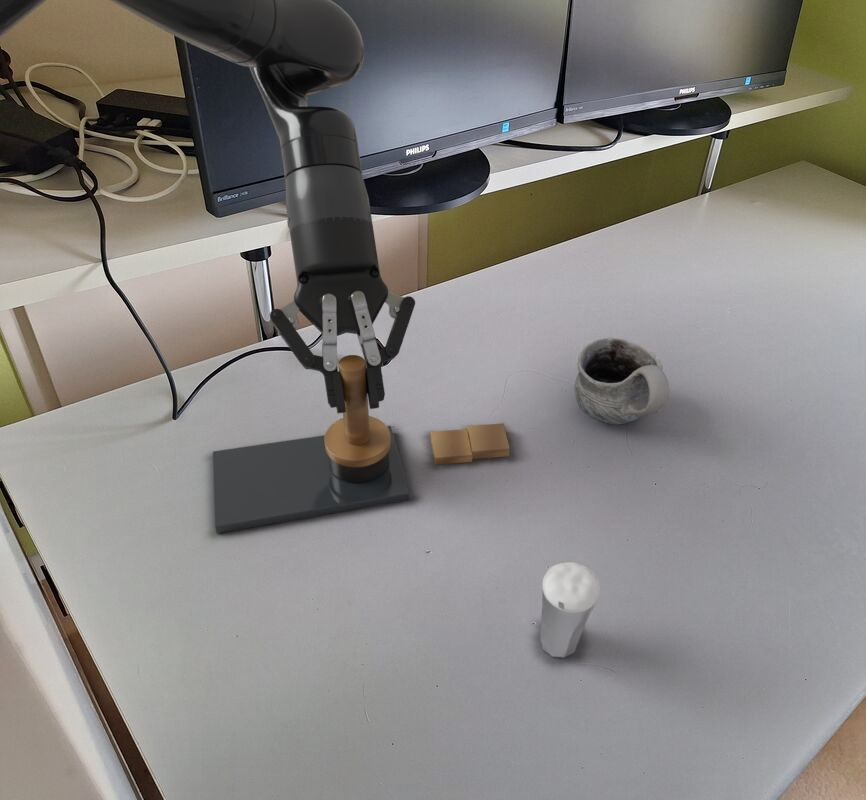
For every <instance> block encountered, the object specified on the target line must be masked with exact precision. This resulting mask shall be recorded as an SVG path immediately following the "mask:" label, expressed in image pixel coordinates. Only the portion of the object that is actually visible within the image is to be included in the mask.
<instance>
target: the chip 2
mask: <svg viewBox="0 0 866 800" xmlns="http://www.w3.org/2000/svg"><path fill="white" fill-rule="evenodd" d="M466 429H467V430H468V435H469V440H470V445H471V449H472V454H473V457H472V460H480V459H492V458H504V457H505V458H507V457H510V443H509V440H508V436H507V432H506V428H505V424H504V423H487V424H471V425H467V428H466Z"/></svg>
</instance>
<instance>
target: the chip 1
mask: <svg viewBox="0 0 866 800" xmlns="http://www.w3.org/2000/svg"><path fill="white" fill-rule="evenodd" d="M430 443H431V445H430V446H431V450H432V457H433V464H434V465H435V466H436V465H450V464H462V463H472V462H473V459H472V457H473V454H472V449H471V445H470V440H469V435H468V430H467V428H463V429H451V430H438V431H430Z"/></svg>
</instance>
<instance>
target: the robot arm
mask: <svg viewBox="0 0 866 800" xmlns="http://www.w3.org/2000/svg"><path fill="white" fill-rule="evenodd" d="M109 1H110V2H112V3H114V4H115V5H117V6H119V7H121V8H123V9H125V10H127V11H128V12H130V13H132V14H133V15H136V16H137V17H139V18H141V19H143V20H145V21H146V22H148V23H150V24H152V25H153V26H156V27H157V28H159V29H161V30H162V31H165V32H167V33H169V34H170V35H172V36H174V37H176V38H178V39H180V40H182V41H184V42H186V43H187V44H190V45H192V46H194V47H196V48H198V49H201V50H203V51H206V52H207V53H210V54H213V55H215V56H217V57H219V58H222V59H224V60H226V61H228V62H230V63H233V64H235V65H238V66H242V67H246V68H249V71H250V74H251V76H252V78H253V81H254V83H255V85H256V87H257V89H258V91H259V93H260V95H261V98H262V100H263V102H264V105H265V108H266V110H267V112H268V115H269V117H270V119H271V122H272V125H273V127H274V129H275V132H276V135H277V138H278V142H279V146H280V148H279V149H280V156H281V162H282V168H283V175H284V184H285V211H286V216H287V223H286V224H287V227H288V229H289V230H288V231H289V236H290V243H291V250H292V257H293V258H292V259H293V264H294V270H295V271H294V272H295V277H296V290H295V292H294V296H293V300H292V301H291V302H289V303H287V304H286V305H285V306H283V307H281V308H273V309H272V310H270V312H269V319H270V323H271V324H272V326H273V327H274V328H275V330H276V331H277V333H278V334H279V336H280V337H281V338H282V340H283V341H284V342H285V343H286V345H287V347H288V348H289V349H290V350H291V352H292V353H293V355H294V356H295V358H296V359H297V361H298V362H299V363H300V365H301V366H302V368H304V369H305V370H312V371H316V372H319V373H321V374H322V376H323V378H324V385H325V392H326V400H327V404H328V405H329V407H330V409H333V408H334V409H335V408H336V413H337V414H338V415H339V414H343V413H345V412H346V407H345V401H344V394H343V387H342V380H341V373H340V371H339V368H338V336H341V335H344V334H353V335H356V336H357V340H358V343H359V346H360V348H361V352H362V355H363V359H364V360H365V362H366V377H367V393H368V407H369V410H375V409H379V408H380V402H383V401H384V400H385V396H386V392H385V386H384V379H383V372H382V365H383V364H384V363H387V362H389V361H390V360H391V361H392V360H394V359H395V358H396V357H397V356H398V355H399V353H400V351H401V348H402V344H403V341H404V338H405V335H406V333H407V330H408V327H409V325H410V320H411V318H412V315H413V312H414V309H415V306H416V300H415V298H414V297H413V296H411V295H407V296H405V297H404V296H401V295H399V294H396V293H394V292H391V291H389V288H388V286H387V285H386V283H385V282H384V280H383V279H382V276H381V272H380V265H379V258H378V252H377V251H378V250H377V244H376V238H375V232H374V225H373V217H372V211H371V206H370V205H371V204H370V199H369V195H368V191H367V188H366V184H365V180H364V175H363V171H362V170H363V169H362V164H361V157H360V149H359V145H358V144H359V141H358V137H357V136H358V135H357V130H356V127H355V124H354V122H353V120H352V118H351V116H350V115H349V114H348V113H346V112H345V111H343V110H341V109H339V108H336V107H332V106H323V105H322V106H321V105H312V106H311V105H309V102H308V96H311V95H314V94H317V93H320V92H322V91H323V92H324V91H326V90H329V89H332V88H336V87H338V86H342V85H344V84H347V83H348V82H350V81H352V80H353V79H354V78H355V77H356V76H358V74H359V72H360V71H361V69H362V67H363V64H364V60H365V45H364V40H363V37H362V34H361V31H360V29H359V27H358V26H357V24H356V22H355V21H354V19H353V18H352V17H351V16H350V15H349V14H348V13H347V11H345V10H344V9H343V8H342V6H340V5H338V4H337V3H335V2H334V1H332V0H109ZM45 2H47V0H0V39H1V38H2V37H3V36H4V35H6V34H7V33H9V31H11V30H12V29H14V28H15V26H17V25H18V24H20V22H22V21H23V20H24V19H26V18H27V17H28V16H29V15H30V14H32V13H33V12H34V11H35V10H37V9H38V8H39V7H40V6H41V5H42V4H44V3H45ZM384 304H387V307H388V316H389V317H391V318H392V319H393V320H394V321H393V323H392V326H391V329H390V332H389V335H388V338H387V339H386V343H385V346H384V347H383V346H382V347H381V348H380V349H379V347H378V342H377V338H376V333H375V329H374V325H373V324H374V323H375V321H376V319H377V318H378V316H379V313H380V312H381V310H382V308H383V306H384ZM299 312H300V313H301V314H302V315H303V316H304V317H305V318H306V319H307V320H308V321H309V322H310V323H311V324H312V325H313V327H315V329H317V330H318V332H320V333H321V348H322V349H321V350H322V353H321V354H322V355H316V354H314V353H313V352H312V351H311V349H310V348H309V346H308V344H306V342H305V341H304V339H303V338H302V336H301V335H300V334H299V332H298V331H297V329H298V327H299V323H300V322H299V318H298V316H297V315H298V313H299Z"/></svg>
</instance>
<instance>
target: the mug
mask: <svg viewBox="0 0 866 800" xmlns="http://www.w3.org/2000/svg"><path fill="white" fill-rule="evenodd" d="M576 365H577V369H578V372H577V375H576V378H575V383H574V395H575V400H576V402H577V405H578V407H579V408H580V410H581V411H582V412H583V413H585V414H586V415H587V416H589V417H590V418H592V419H594V420H597V421H598V422H599V421H600V422H602V423H604V424H609V425H625V424H628V423H630V422H633V421H636V420H639V419H640V418H641V417H643V416H647V415H652V414H656V413H658V412H660V411H662V410H663V409H664V408H665V406H666V405H667V403H668V400H669V397H670V385H669V380H668V377H667V376H666V374H665V372H664V370H663V369H664V368H663V364H662V362H661V360H660V359H658V358H657V356H656V355H655V353H654V352H652V351H651V350H649V349H647V348H646V347H644V346H642V345H640V344H638V343H637V342H634V341H629V340H627V339H623V338H620V337H611V336H610V337H607V338H606V337H604V338H598V339H595V340H593V341H591V342H589V343H587V344H586V345H584V347H583V349H582V350H581V351H580V353H579V355H578V357H577V363H576Z"/></svg>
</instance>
